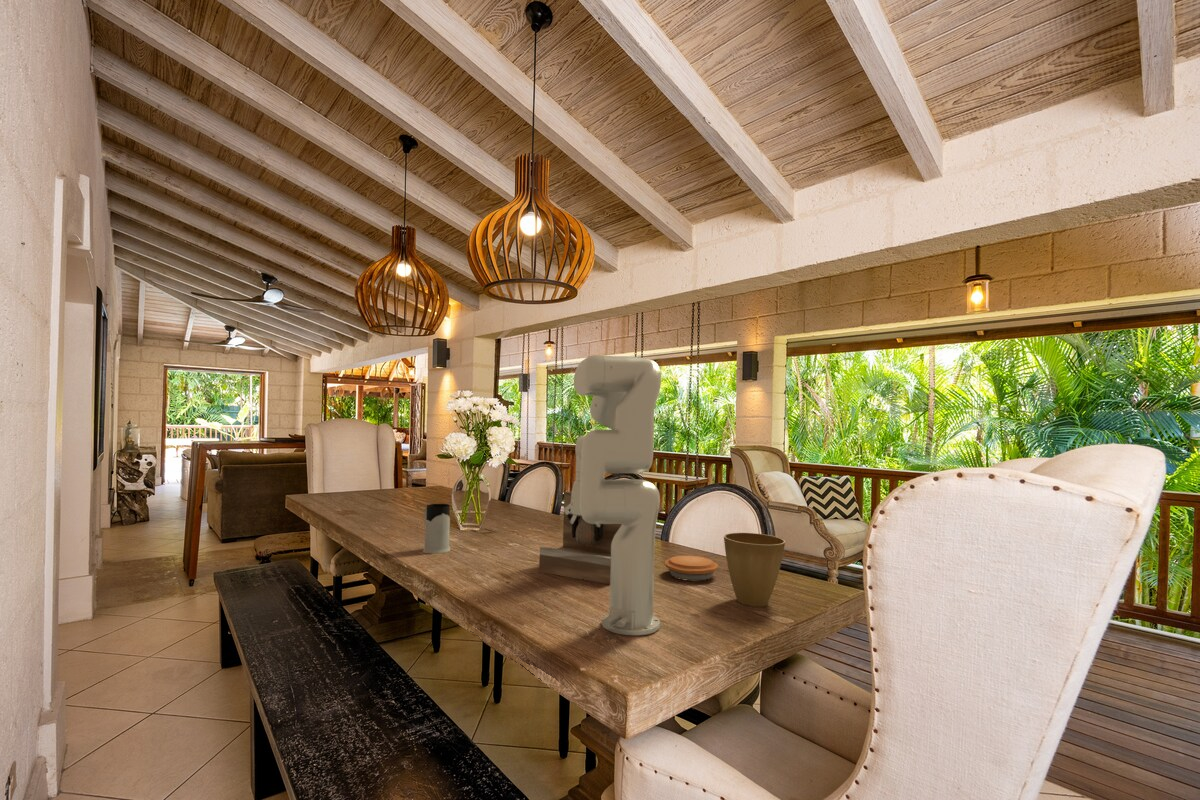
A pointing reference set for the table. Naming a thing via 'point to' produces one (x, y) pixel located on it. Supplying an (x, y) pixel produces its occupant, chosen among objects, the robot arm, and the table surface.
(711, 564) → the pie
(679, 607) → the table surface
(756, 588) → the plant pot
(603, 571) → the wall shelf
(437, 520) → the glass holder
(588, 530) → the vase
